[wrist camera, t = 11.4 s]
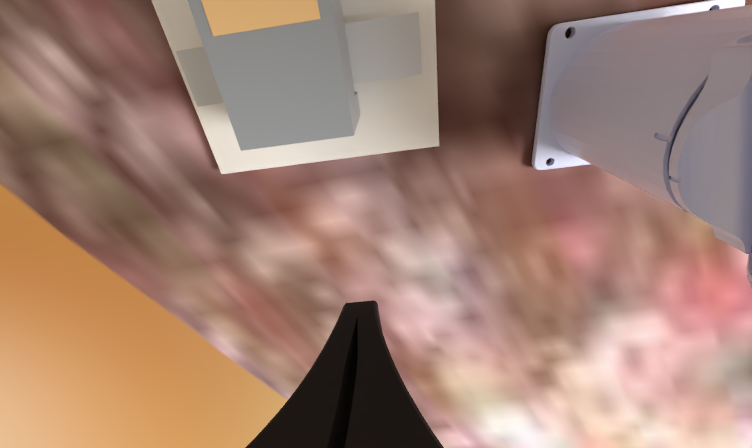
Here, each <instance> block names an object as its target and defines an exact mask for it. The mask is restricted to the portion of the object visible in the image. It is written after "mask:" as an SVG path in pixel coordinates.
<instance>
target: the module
mask: <svg viewBox="0 0 752 448" xmlns="http://www.w3.org/2000/svg"><path fill="white" fill-rule="evenodd" d="M187 1H188V3H189V6H190V9H191V12H192V15H193V17H194V20H195V23H196V26H197V29H198V32H199V34H200V37H201V40H202V43H203V46H204V48H205V51H206V54H207V57H208V60H209V62H210V65H211V68H212V71H213V74H214V77H215V79H216V82H217V85H218V88H219V91H220V93H221V96H222V99H223V102H224V105H225V107H226V110H227V113H228V116H229V119H230V122H231V124H232V127H233V130H234V133H235V136H236V138H237V141H238V144H239V147H240V150H241V151H244V150H251V149H258V148H266V147H273V146H281V145H288V144H296V143H303V142H311V141H318V140H326V139H333V138H341V137H348V136H354V134H355V131H356V128H357V124H358V121H359V118H360V114H361V113H360V106H359V100H358V93H357V92H355V91H354V84H353V78H352V71H351V65H350V58H349V52H348V45H347V39H346V32H345V26H344V19H343V13H342V6H341V0H187Z"/></svg>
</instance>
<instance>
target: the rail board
mask: <svg viewBox="0 0 752 448" xmlns="http://www.w3.org/2000/svg"><path fill="white" fill-rule="evenodd" d="M151 1H152V3H153V6H154V8H155V10H156V13H157V15H158V18H159V20H160V23H161V25H162V28H163V30H164V33H165V35H166V38H167V40H168V43H169V45H170V48H171V50H172V53H173V55H174V58H175V60H176V63H177V65H178V67H179V70H180V72H181V75H182V77H183V80H184V82H185V85H186V87H187V90H188V92H189V95H190V97H191V100H192V102H193V105H194V107H195V110H196V112H197V115H198V117H199V120H200V122H201V124H202V127H203V129H204V132H205V134H206V137H207V139H208V142H209V144H210V147H211V149H212V152H213V154H214V157H215V159H216V162H217V164H218V167H219V169H220V172H221V174H227V173H234V172H242V171H250V170H258V169H265V168H273V167H281V166H288V165H296V164H304V163H312V162H319V161H327V160H335V159H343V158H350V157H358V156H366V155H373V154H381V153H389V152H397V151H404V150H412V149H420V148H428V147H435V146H439V121H438V87H437V54H436V20H435V0H341V6H342V13H343V19H344V26H345V32H346V39H347V45H348V52H349V58H350V65H351V71H352V78H353V84H354V91H355V92H357V93H358V100H359V106H360V113H361V114H360V118H359V121H358V124H357V128H356V131H355V134H354V136H348V137H341V138H333V139H326V140H318V141H311V142H303V143H296V144H288V145H281V146H273V147H266V148H258V149H251V150H244V151H241V150H240V147H239V144H238V141H237V138H236V136H235V133H234V130H233V127H232V124H231V122H230V119H229V116H228V113H227V110H226V107H225V105H224V102H223V99H222V96H221V93H220V91H219V88H218V85H217V82H216V79H215V77H214V74H213V71H212V68H211V65H210V62H209V60H208V57H207V54H206V51H205V48H204V46H203V43H202V40H201V37H200V34H199V32H198V29H197V26H196V23H195V20H194V17H193V15H192V12H191V9H190V6H189V3H188V1H187V0H151Z"/></svg>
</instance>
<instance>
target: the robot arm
mask: <svg viewBox="0 0 752 448" xmlns="http://www.w3.org/2000/svg"><path fill="white" fill-rule="evenodd" d="M710 8H712V10H710V11H709V9H710ZM568 28H570V29H571V35H570V36H569V37H568V38H566V37H565V32H566V30H567V29H568ZM549 158H551V162H550V163H548V164H546V161H547V160H548V159H549ZM588 164H593V165H595V166H597V167H599V168H601V169H602V170H604V171H606V172H608V173H610V174H612V175H614V176H616V177H618V178H620V179H622V180H624V181H626V182H628V183H630V184H632V185H634V186H636V187H638V188H640V189H642V190H644V191H646V192H648V193H650V194H652V195H654V196H656V197H658V198H660V199H662V200H664V201H666V202H668V203H670V204H672V205H674V206H676V207H678V208H680V209H682V210H684V211H686V212H688V213H690V214H692V215H694V216H696V217H698V218H699V219H701V220H703V221H705V222H707V223H709V224H710V225H711V227H712V228H713V231H714V236H715V237H716V238H718V239H720V240H722V241H724V242H726V243H728V244H730V245H731V246H733V247H735V248H737V249H739V250H741V251H743V252H744V253H746V254H749V257H748V263H747V277H748V281H749V283H750V285H751V287H752V5H747V6H745V0H708V1H702V2H695V3H689V4H682V5H676V6H669V7H663V8H656V9H650V10H643V11H637V12H630V13H624V14H617V15H611V16H604V17H598V18H591V19H585V20H578V21H572V22H565V23H559V24H556V25H554V26H553V27H552V28H551V29H550V30H549V32H548V36H547V43H546V51H545V59H544V67H543V75H542V83H541V91H540V99H539V107H538V115H537V123H536V131H535V139H534V147H533V155H532V166H533V167H534V168H535V169H537V170H546V169H555V168H563V167H571V166H580V165H588ZM246 448H444V447H443V446H442V445H441V443H440V442H439V440H438V439H437V437H436V436H435V434H434V433H433V432H432V430H431V429H430V427H429V425H428V424H427V422H426V421H425V419H424V418H423V416H422V415H421V413H420V411H419V409H418V408H417V406H416V404H415V403H414V401H413V399H412V397H411V396H410V394H409V392H408V390H407V389H406V387H405V385H404V383H403V381H402V379H401V377H400V375H399V373H398V371H397V369H396V367H395V364H394V362H393V360H392V357H391V355H390V353H389V350H388V348H387V345H386V342H385V339H384V336H383V333H382V328H381V322H380V316H379V311H378V305H377V302H376V301H365V302H354V303H346V304H345V305H344V307H343V309H342V312H341V314H340V316H339V319H338V321H337V323H336V325H335V327H334V329H333V331H332V333H331V335H330V337H329V339H328V341H327V342H326V344H325V346H324V348H323V350H322V351H321V353H320V355H319V356H318V358H317V360H316V361H315V363H314V365H313V366H312V368H311V369H310V371H309V372H308V374H307V375H306V377H305V378H304V380H303V381H302V382H301V384H300V385H299V387H298V388H297V389H296V391H295V392H294V393H293V394H292V396H291V397H290V398H289V400H288V401H287V402H286V403H285V405H284V406H283V407H282V408H281V410H280V411H279V412H278V413H277V414H276V415H275V417H274V418H273V419H272V420H271V421H270V422H269V423H268V425H267V426H266V427H265V428H264V429H263V430H262V431H261V432H260V433H259V434H258V435H257V437H256V438H255V439H254V440H253V441H252V442H251V443H250V444H249V445H248V446H247V447H246Z"/></svg>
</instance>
